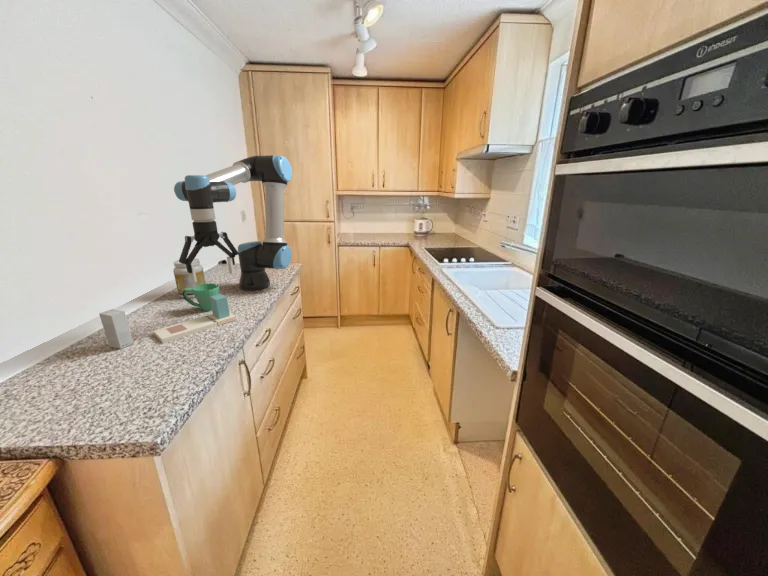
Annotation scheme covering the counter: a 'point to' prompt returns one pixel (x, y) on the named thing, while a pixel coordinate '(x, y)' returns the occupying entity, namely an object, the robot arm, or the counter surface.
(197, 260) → the supplement tub
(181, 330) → the ticket
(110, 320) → the skincare box
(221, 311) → the stub
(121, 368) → the counter surface
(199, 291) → the mug
